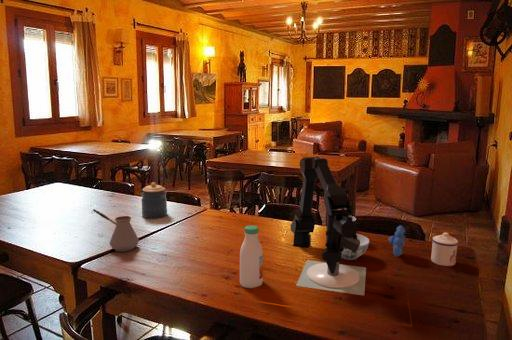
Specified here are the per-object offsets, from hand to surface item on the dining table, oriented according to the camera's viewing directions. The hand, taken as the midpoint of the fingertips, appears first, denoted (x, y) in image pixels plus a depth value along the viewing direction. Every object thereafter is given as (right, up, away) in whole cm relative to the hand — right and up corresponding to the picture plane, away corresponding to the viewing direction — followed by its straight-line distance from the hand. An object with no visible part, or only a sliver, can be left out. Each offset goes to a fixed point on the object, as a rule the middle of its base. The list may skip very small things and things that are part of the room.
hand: (333, 270), depth 143 cm
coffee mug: (+13, +4, +39) cm, 41 cm away
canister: (-80, +11, +71) cm, 107 cm away
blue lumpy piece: (+29, +1, +22) cm, 37 cm away
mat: (0, -3, 0) cm, 3 cm away
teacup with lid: (+46, 0, +16) cm, 49 cm away
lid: (0, -2, 0) cm, 2 cm away
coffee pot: (-86, +3, +27) cm, 90 cm away
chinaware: (+10, 0, +18) cm, 21 cm away
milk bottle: (-29, -3, -4) cm, 29 cm away
